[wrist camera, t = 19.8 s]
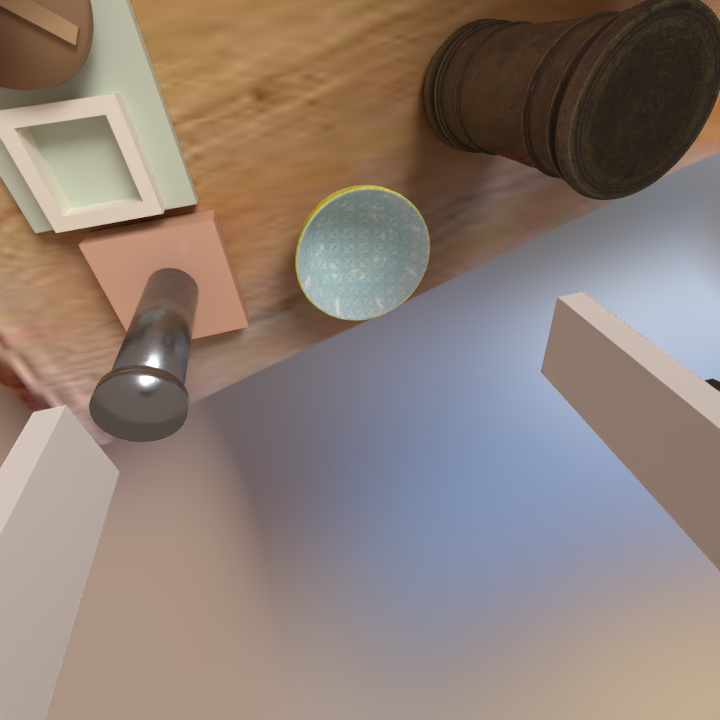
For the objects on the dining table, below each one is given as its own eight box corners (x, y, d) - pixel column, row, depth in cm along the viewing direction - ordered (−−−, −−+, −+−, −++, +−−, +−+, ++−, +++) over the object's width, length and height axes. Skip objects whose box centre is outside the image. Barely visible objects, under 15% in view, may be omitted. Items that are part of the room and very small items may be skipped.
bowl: (261, 215, 35) (265, 240, 30) (376, 142, 34) (399, 156, 29) (326, 310, 42) (338, 342, 37) (423, 252, 41) (448, 278, 36)
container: (404, 67, 31) (540, 75, 17) (506, -11, 30) (743, -71, 16) (447, 171, 37) (578, 241, 23) (536, 109, 36) (732, 142, 22)
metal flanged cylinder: (130, 269, 32) (70, 389, 21) (191, 257, 33) (167, 367, 21) (155, 320, 35) (115, 450, 24) (211, 308, 36) (199, 429, 24)
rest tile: (89, 231, 33) (78, 245, 30) (214, 208, 34) (213, 220, 32) (143, 333, 39) (137, 351, 37) (247, 311, 40) (248, 326, 38)
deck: (-156, -106, 21) (-214, -130, 18) (87, -125, 23) (66, -150, 20) (42, 226, 32) (24, 242, 29) (198, 198, 33) (195, 211, 31)
